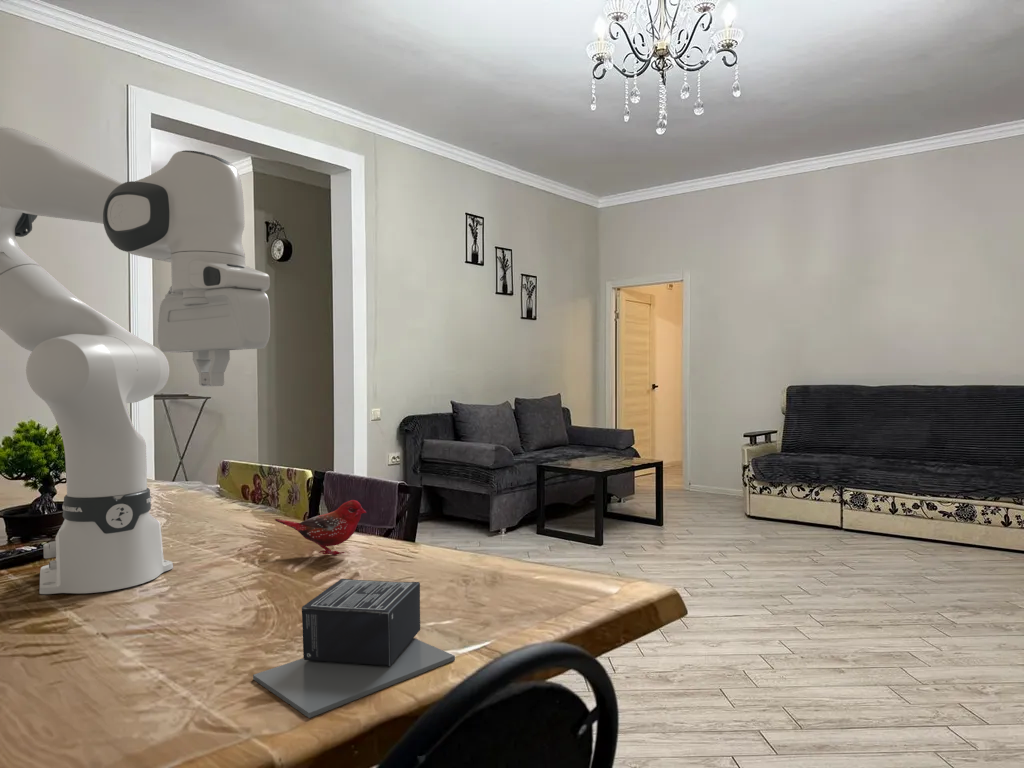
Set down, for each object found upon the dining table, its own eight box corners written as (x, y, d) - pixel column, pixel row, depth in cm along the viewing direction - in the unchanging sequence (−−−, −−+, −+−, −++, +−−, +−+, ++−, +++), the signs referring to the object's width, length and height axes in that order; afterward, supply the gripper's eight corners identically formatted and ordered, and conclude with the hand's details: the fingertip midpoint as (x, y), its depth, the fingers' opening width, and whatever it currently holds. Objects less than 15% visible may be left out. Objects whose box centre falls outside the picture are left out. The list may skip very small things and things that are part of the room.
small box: (301, 664, 77) (390, 670, 75) (299, 606, 76) (388, 610, 74) (343, 628, 87) (423, 631, 85) (341, 576, 87) (421, 579, 85)
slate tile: (253, 679, 74) (253, 674, 74) (392, 632, 87) (392, 628, 87) (309, 718, 65) (309, 713, 65) (454, 660, 78) (454, 655, 78)
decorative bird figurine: (364, 558, 121) (363, 501, 121) (271, 555, 124) (269, 499, 124) (370, 553, 124) (369, 498, 124) (279, 551, 127) (278, 496, 127)
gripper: (143, 284, 93) (146, 386, 93) (232, 269, 81) (235, 387, 81) (188, 288, 98) (190, 385, 98) (278, 275, 86) (280, 385, 87)
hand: (211, 386), depth 90 cm, fingers closed
